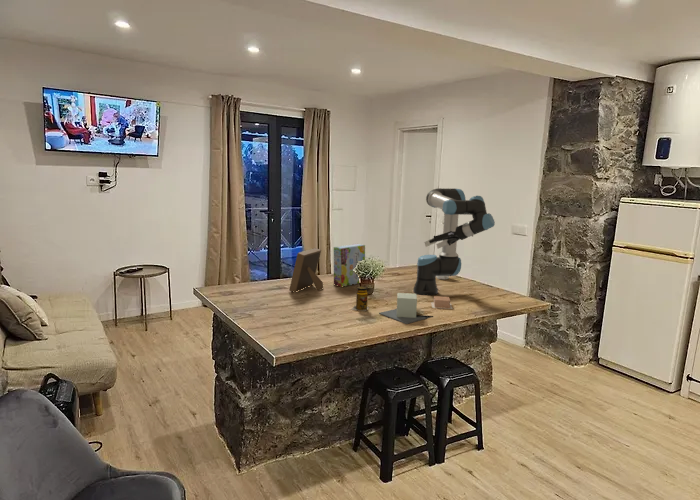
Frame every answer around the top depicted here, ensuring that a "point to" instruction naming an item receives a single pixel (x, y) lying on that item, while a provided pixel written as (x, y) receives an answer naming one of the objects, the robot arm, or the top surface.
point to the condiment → (361, 299)
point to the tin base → (441, 302)
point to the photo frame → (306, 270)
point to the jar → (442, 277)
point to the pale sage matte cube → (406, 305)
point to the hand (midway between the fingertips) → (431, 245)
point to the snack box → (347, 263)
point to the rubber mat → (406, 320)
